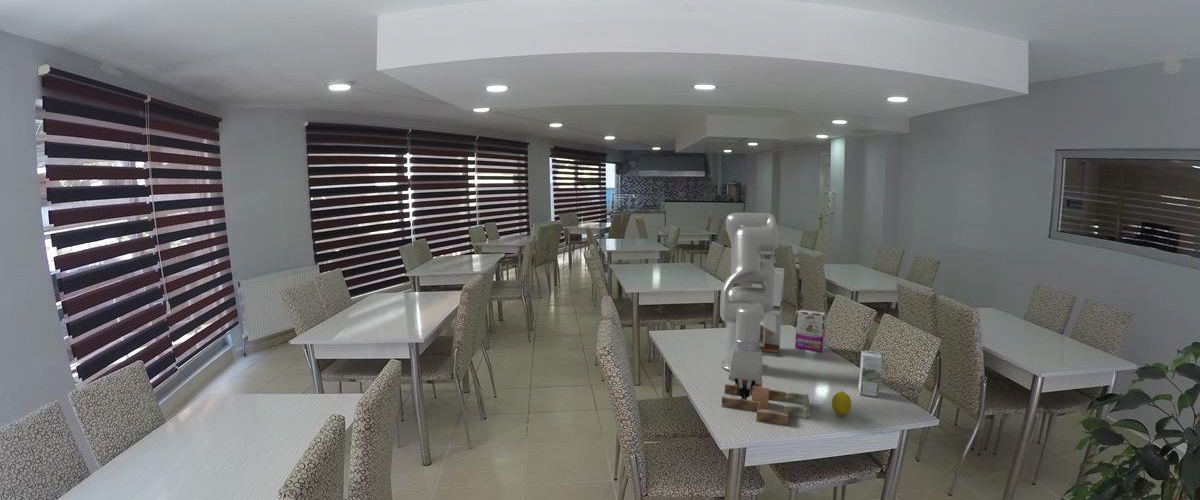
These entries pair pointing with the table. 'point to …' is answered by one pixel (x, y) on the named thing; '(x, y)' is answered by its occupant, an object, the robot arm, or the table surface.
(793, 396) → the wooden zigzag frame
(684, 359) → the table surface
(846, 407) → the lemon
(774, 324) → the display case
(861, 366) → the syrup box
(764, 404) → the block
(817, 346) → the candy bar box
